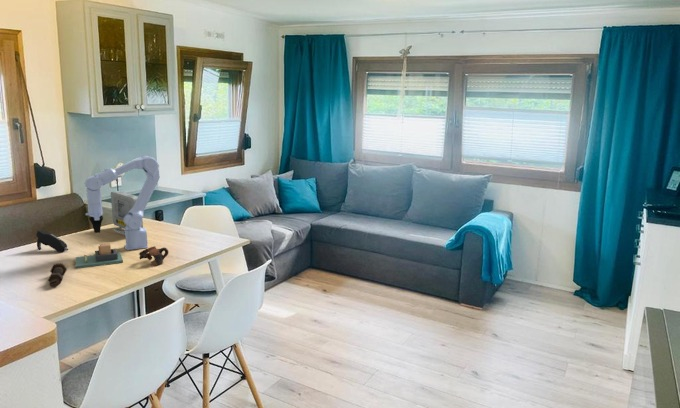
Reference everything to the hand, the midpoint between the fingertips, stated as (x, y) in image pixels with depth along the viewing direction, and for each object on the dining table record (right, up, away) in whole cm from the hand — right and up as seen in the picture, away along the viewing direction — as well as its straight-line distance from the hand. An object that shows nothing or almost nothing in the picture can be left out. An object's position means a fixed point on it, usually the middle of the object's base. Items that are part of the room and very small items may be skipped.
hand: (97, 232), depth 229 cm
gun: (-22, -9, +4) cm, 24 cm away
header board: (+5, -12, -10) cm, 16 cm away
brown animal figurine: (+30, -13, -10) cm, 34 cm away
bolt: (+1, -17, -34) cm, 38 cm away
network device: (-2, -2, +37) cm, 37 cm away
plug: (+8, -11, -9) cm, 16 cm away
